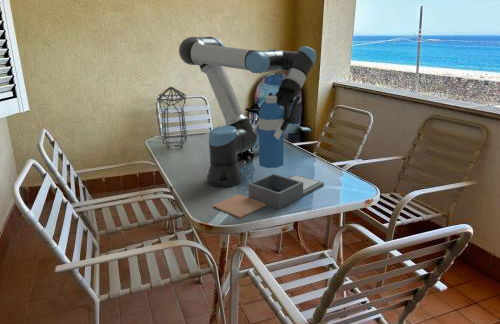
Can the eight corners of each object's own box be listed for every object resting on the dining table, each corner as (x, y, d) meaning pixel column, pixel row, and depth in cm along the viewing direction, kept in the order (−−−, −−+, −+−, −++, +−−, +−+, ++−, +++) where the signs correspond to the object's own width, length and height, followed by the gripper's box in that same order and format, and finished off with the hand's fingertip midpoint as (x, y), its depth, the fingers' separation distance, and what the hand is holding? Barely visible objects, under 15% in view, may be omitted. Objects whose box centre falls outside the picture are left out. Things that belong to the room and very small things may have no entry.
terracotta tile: (213, 206, 133) (213, 205, 133) (239, 195, 143) (239, 194, 143) (240, 218, 124) (240, 216, 124) (266, 205, 134) (266, 203, 134)
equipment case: (248, 198, 140) (248, 183, 138) (294, 177, 162) (295, 164, 160) (279, 209, 131) (279, 193, 129) (323, 185, 152) (324, 171, 150)
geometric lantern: (189, 143, 218) (186, 84, 207) (188, 151, 204) (185, 88, 192) (162, 144, 216) (157, 85, 205) (160, 152, 202) (154, 89, 190)
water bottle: (255, 166, 132) (254, 98, 123) (263, 158, 140) (262, 93, 131) (279, 169, 129) (280, 99, 120) (286, 160, 137) (287, 94, 128)
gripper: (320, 93, 130) (294, 146, 124) (273, 87, 143) (247, 135, 137) (313, 79, 124) (285, 134, 119) (264, 75, 137) (237, 124, 132)
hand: (265, 135), depth 128 cm, fingers closed on water bottle, 9 cm apart
